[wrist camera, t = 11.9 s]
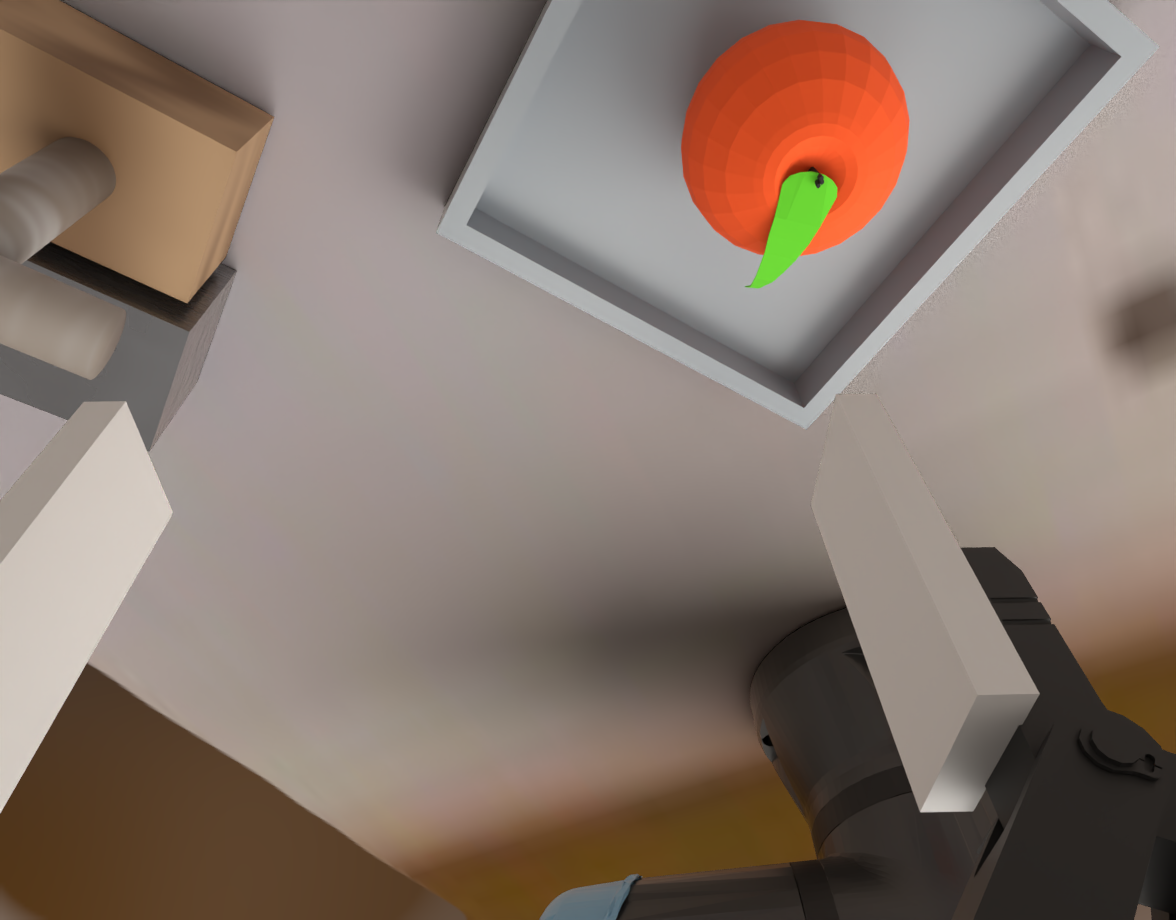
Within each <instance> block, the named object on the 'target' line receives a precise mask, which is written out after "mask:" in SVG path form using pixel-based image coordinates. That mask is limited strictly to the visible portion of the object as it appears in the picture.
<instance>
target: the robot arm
mask: <svg viewBox="0 0 1176 920" xmlns="http://www.w3.org/2000/svg"><path fill="white" fill-rule="evenodd" d="M811 508H812V511H813V513H814V516H815V519H816V522H817V525H818V527H819V530H820V533H821V536H822V539H823V541H824V544H825V547H826V550H827V553H828V555H829V558H830V561H831V564H832V567H833V570H834V572H835V575H836V578H837V581H838V584H839V586H840V589H841V592H842V595H843V598H844V600H845V603H846V606H847V608H845V609H842V610H839V611H836V612H834V613H831V614H828V615H826V616H823V617H821V618H819V619H817V620H815V621H813V622H811V623H809V624H807V625H805V626H803V627H802V628H800V629H798V630H797V631H795V632H794V633H792V634H791V635H789V636H788V637H787V638H785V639H784V640H783V641H781V642H780V643H779V644H778V645H777V646H776V647H775V648H774V649H773V650H772V651H771V652H770V653H769V654H768V655H767V656H766V657H765V659H764V660H763V661H762V663H761V664H760V666H759V667H758V669H757V671H756V673H755V675H754V677H753V680H752V683H751V687H750V706H751V710H752V715H753V720H754V725H755V729H756V734H757V737H758V740H759V742H760V745H761V747H762V749H763V751H764V752H765V754H766V755H767V757H768V758H769V760H770V761H771V762H772V764H773V766H774V768H775V770H776V772H777V773H778V775H779V777H780V779H781V780H782V782H783V784H784V785H785V787H786V789H787V790H788V792H789V794H790V795H791V797H792V799H793V800H794V802H795V803H796V805H797V807H798V808H799V810H800V812H801V813H802V815H803V817H804V818H805V820H806V822H807V823H808V825H809V828H810V831H811V835H812V839H813V843H814V847H815V851H816V855H817V859H818V860H809V861H800V862H789V863H781V864H772V865H762V866H753V867H743V868H734V869H724V870H715V871H705V872H696V873H686V874H676V875H667V876H657V877H648V878H642V876H639V875H638V874H635V875H630V876H628V877H627V878H626V879H625V880H622V881H616V882H610V883H604V884H598V885H592V886H586V887H580V888H574V889H571V890H568V891H566V892H564V893H562V894H561V895H559V896H558V897H556V898H555V899H554V900H553V901H552V902H551V903H550V904H549V906H548V907H547V908H546V910H545V911H544V913H543V914H542V916H541V918H540V920H1134V917H1135V913H1136V909H1137V905H1138V904H1141V905H1144V906H1148V907H1151V915H1152V920H1176V754H1173V753H1170V752H1167V751H1165V750H1162V748H1161V746H1160V745H1159V744H1158V743H1157V742H1156V741H1155V740H1154V739H1153V738H1152V737H1151V736H1150V735H1149V734H1148V733H1147V732H1146V731H1145V730H1144V729H1143V728H1142V727H1140V726H1138V725H1137V724H1135V723H1134V722H1132V721H1131V720H1129V719H1128V718H1126V717H1124V716H1123V715H1120V714H1117V713H1114V712H1112V711H1109V710H1107V709H1106V707H1105V706H1104V705H1103V703H1102V702H1101V700H1100V699H1099V697H1098V695H1097V694H1096V692H1095V690H1094V689H1093V687H1092V686H1091V684H1090V682H1089V681H1088V679H1087V677H1086V676H1085V674H1084V672H1083V671H1082V669H1081V667H1080V666H1079V664H1078V663H1077V661H1076V659H1075V658H1074V656H1073V654H1072V653H1071V651H1070V649H1069V648H1068V646H1067V644H1066V643H1065V641H1064V640H1063V638H1062V636H1061V635H1060V633H1059V631H1058V630H1057V628H1056V626H1055V625H1054V624H1051V621H1050V620H1051V618H1050V617H1049V615H1048V613H1047V612H1046V610H1045V608H1044V607H1043V605H1042V603H1041V602H1038V601H1037V598H1038V597H1037V595H1036V594H1035V592H1034V590H1033V589H1032V587H1031V585H1030V584H1029V582H1028V580H1027V579H1026V577H1025V575H1024V574H1023V572H1022V571H1021V570H1020V569H1019V568H1018V567H1017V566H1016V565H1014V564H1013V563H1012V562H1011V561H1010V560H1009V559H1007V558H1006V557H1005V556H1004V555H1003V554H1002V553H1000V552H999V551H998V550H997V549H996V548H995V547H981V548H960V546H959V544H958V542H957V541H956V539H955V537H954V535H953V533H952V531H951V530H950V528H949V526H948V524H947V522H946V520H945V519H944V517H943V515H942V513H941V511H940V509H939V507H938V506H937V504H936V502H935V500H934V498H933V496H932V495H931V493H930V491H929V489H928V487H927V485H926V484H925V482H924V480H923V478H922V476H921V474H920V473H919V471H918V469H917V467H916V465H915V463H914V461H913V460H912V458H911V456H910V454H909V452H908V450H907V449H906V447H905V445H904V443H903V441H902V439H901V438H900V436H899V434H898V432H897V430H896V428H895V427H894V425H893V423H892V421H891V419H890V417H889V415H888V414H887V412H886V410H885V408H884V406H883V404H882V403H881V401H880V399H879V397H878V395H877V394H836V395H835V400H834V404H833V409H832V413H831V417H830V422H829V426H828V431H827V435H826V440H825V444H824V448H823V453H822V457H821V462H820V466H819V470H818V475H817V479H816V484H815V488H814V493H813V497H812V501H811ZM172 514H173V511H172V509H171V507H170V504H169V502H168V500H167V497H166V495H165V493H164V490H163V488H162V485H161V483H160V481H159V478H158V476H157V474H156V471H155V469H154V467H153V464H152V462H151V459H150V457H149V455H148V452H147V450H146V448H145V445H144V443H143V441H142V438H141V436H140V433H139V431H138V429H137V426H136V424H135V422H134V419H133V417H132V415H131V412H130V410H129V408H128V405H127V403H126V401H101V402H83V403H82V404H81V406H80V407H79V408H78V409H77V410H76V412H75V413H74V414H73V415H72V416H71V418H70V419H69V420H68V421H67V422H66V423H65V425H64V426H63V427H62V428H61V429H60V431H59V432H58V433H57V434H56V435H55V436H54V438H53V439H52V440H51V441H50V442H49V444H48V445H47V446H46V447H45V448H44V450H43V451H42V452H41V453H40V454H39V455H38V457H37V458H36V459H35V460H34V461H33V463H32V464H31V465H30V466H29V467H28V468H27V470H26V471H25V472H24V473H23V474H22V476H21V477H20V478H19V479H18V480H17V482H16V483H15V484H14V485H13V486H12V487H11V489H10V490H9V491H8V492H7V493H6V495H5V496H4V497H3V498H2V499H1V500H0V813H1V811H2V809H3V807H4V805H5V804H6V802H7V801H8V799H9V797H10V795H11V794H12V792H13V790H14V788H15V787H16V785H17V783H18V782H19V780H20V778H21V776H22V775H23V773H24V771H25V769H26V768H27V766H28V764H29V762H30V761H31V759H32V757H33V756H34V754H35V752H36V750H37V749H38V747H39V745H40V743H41V742H42V740H43V738H44V736H45V734H46V733H47V731H48V729H49V728H50V726H51V724H52V723H53V721H54V719H55V717H56V715H57V714H58V712H59V710H60V709H61V707H62V705H63V703H64V702H65V700H66V698H67V696H68V695H69V693H70V691H71V690H72V688H73V686H74V684H75V682H76V681H77V679H78V677H79V676H80V674H81V672H82V670H83V669H84V667H85V665H86V664H87V662H88V660H89V658H90V657H91V655H92V653H93V651H94V650H95V648H96V646H97V644H98V643H99V641H100V639H101V638H102V636H103V634H104V632H105V631H106V629H107V627H108V625H109V624H110V622H111V620H112V618H113V617H114V615H115V613H116V612H117V610H118V608H119V606H120V605H121V603H122V601H123V599H124V598H125V596H126V594H127V592H128V591H129V589H130V587H131V586H132V584H133V582H134V580H135V579H136V577H137V575H138V573H139V572H140V570H141V568H142V566H143V565H144V563H145V561H146V559H147V558H148V556H149V554H150V553H151V551H152V549H153V547H154V546H155V544H156V542H157V540H158V539H159V537H160V535H161V533H162V532H163V530H164V528H165V527H166V525H167V523H168V521H169V520H170V518H171V516H172Z"/></svg>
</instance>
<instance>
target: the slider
mask: <svg viewBox="0 0 1176 920" xmlns="http://www.w3.org/2000/svg"><path fill="white" fill-rule="evenodd" d="M273 119H274V117H273V116H271V115H269V114H268V113H266V112H264V111H262V110H260V109H258V108H257V107H255V106H253V105H251V104H249V103H247V102H246V101H244V100H242V99H240V98H238V97H236V96H235V95H233V94H231V93H229V92H227V91H225V90H223V89H222V88H220V87H218V86H216V85H214V84H212V83H211V82H209V81H207V80H205V79H203V78H201V77H200V76H198V75H196V74H194V73H192V72H190V71H188V70H187V69H185V68H183V67H181V66H179V65H177V64H176V63H174V62H172V61H170V60H168V59H166V58H165V57H163V56H161V55H159V54H157V53H155V52H154V51H152V50H150V49H148V48H146V47H144V46H142V45H141V44H139V43H137V42H135V41H133V40H131V39H130V38H128V37H126V36H124V35H122V34H120V33H119V32H117V31H115V30H113V29H111V28H109V27H108V26H106V25H104V24H102V23H100V22H98V21H96V20H95V19H93V18H91V17H89V16H87V15H85V14H84V13H82V12H80V11H78V10H76V9H74V8H73V7H71V6H69V5H67V4H65V3H63V2H62V1H60V0H0V344H3V345H5V346H8V347H10V348H13V349H15V350H18V351H20V352H22V353H25V354H27V355H30V356H32V357H35V358H37V359H40V360H42V361H45V362H47V363H50V364H52V365H54V366H57V367H59V368H62V369H64V370H67V371H69V372H72V373H74V374H77V375H79V376H82V377H84V378H86V379H89V380H92V379H94V378H95V377H96V376H98V374H99V373H100V372H101V371H102V370H103V368H104V367H105V365H106V364H107V362H108V361H109V359H110V358H111V356H112V354H113V352H114V350H115V348H116V346H117V344H118V342H119V339H120V337H121V334H122V332H123V329H124V325H125V321H126V311H125V310H124V309H122V308H120V307H118V306H115V305H113V304H111V303H108V302H106V301H104V300H102V299H99V298H97V297H95V296H92V295H90V294H88V293H86V292H83V291H81V290H79V289H76V288H74V287H72V286H70V285H67V284H65V283H63V282H61V281H58V280H56V279H54V278H51V277H49V276H47V275H45V274H42V273H40V272H38V271H35V270H33V269H31V268H29V267H26V266H24V265H22V263H23V262H25V261H26V260H27V259H29V258H30V257H31V256H32V255H34V254H35V253H36V252H38V251H39V250H40V249H42V248H43V247H44V246H45V245H47V244H48V243H49V242H52V243H54V244H56V245H59V246H61V247H63V248H65V249H68V250H70V251H72V252H74V253H76V254H79V255H81V256H83V257H85V258H87V259H90V260H92V261H94V262H96V263H99V264H101V265H103V266H105V267H107V268H110V269H112V270H114V271H116V272H118V273H121V274H123V275H125V276H127V277H130V278H132V279H134V280H136V281H138V282H141V283H143V284H145V285H147V286H149V287H152V288H154V289H156V290H158V291H161V292H163V293H165V294H167V295H169V296H172V297H174V298H176V299H178V300H180V301H183V302H185V303H188V302H189V301H190V300H191V298H192V297H193V296H194V295H195V294H196V292H197V291H198V290H199V289H200V287H201V286H202V285H203V284H204V283H205V281H206V280H207V279H208V278H209V277H210V275H211V274H212V273H213V272H214V271H215V269H216V268H217V267H218V266H219V265H220V263H221V262H222V261H223V260H224V258H225V257H226V255H227V252H228V249H229V246H230V243H231V241H232V238H233V235H234V232H235V229H236V226H237V223H238V220H239V217H240V214H241V212H242V209H243V206H244V203H245V200H246V197H247V194H248V191H249V188H250V185H251V182H252V180H253V177H254V174H255V171H256V168H257V165H258V162H259V159H260V156H261V153H262V151H263V148H264V145H265V142H266V139H267V136H268V133H269V130H270V127H271V124H272V122H273Z"/></svg>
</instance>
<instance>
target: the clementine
mask: <svg viewBox="0 0 1176 920" xmlns="http://www.w3.org/2000/svg"><path fill="white" fill-rule="evenodd" d="M909 121H910V120H909V115H908V109H907V104H906V99H905V94H904V90H903V89H902V87H901V85H900V83H899V81H898V79H897V77H896V75H895V73H894V72H893V70H892V68H891V66H890V64H889V63H888V61H887V60H886V58H885V56H884V55H883V54H881V53H880V52H879V51H878V50H877V49H876V48H875V47H874V46H873V45H872V44H871V43H870V42H869V41H868V40H867V39H866V38H865V37H864V36H861V35H859V34H857V33H855V32H853V31H851V30H848V29H846V28H844V27H842V26H840V25H838V24H831V23H823V22H814V21H806V20H795V21H789V22H783V23H777V24H772V25H768V26H766V27H764V28H762V29H760V30H758V31H756V32H754V33H751V34H749V35H747V36H745V37H743V38H741V39H740V40H739V41H738V42H736V43H735V44H734V45H733V46H731V47H730V48H729V49H728V50H727V51H725V52H724V53H723V54H722V55H721V56H719V57H718V58H717V59H716V61H715V62H714V63H713V65H712V66H711V67H710V69H709V70H708V71H707V73H706V74H705V75H704V77H703V78H702V79H701V81H700V82H699V83H698V86H697V88H696V90H695V93H694V95H693V97H692V99H691V102H690V104H689V106H688V109H687V111H686V117H685V123H684V129H683V135H682V142H681V153H682V165H683V177H684V179H685V182H686V185H687V187H688V190H689V193H690V196H691V198H692V201H693V203H694V204H695V205H696V207H697V208H698V209H699V211H700V212H701V214H702V215H703V216H704V218H705V219H706V220H707V222H708V223H709V224H710V225H711V227H712V228H713V229H714V230H715V231H716V232H717V233H719V234H720V235H721V236H723V237H724V238H725V239H727V240H728V241H729V242H731V243H732V244H733V245H735V246H737V247H740V248H743V249H745V250H748V251H751V252H753V253H756V254H759V255H763V258H762V261H761V263H760V266H759V269H758V271H757V274H756V276H755V278H754V280H753V282H752V283H751V285H749V286H745V287H748V288H757V289H759V288H761V287H763V286H765V285H768V284H770V283H772V282H773V281H775V280H776V279H777V278H778V277H779V276H780V275H781V274H783V273H784V272H785V271H786V270H787V269H788V268H789V267H790V266H791V265H792V264H793V263H794V262H795V261H796V260H797V258H798V257H799V256H803V255H809V254H816V253H818V252H821V251H823V250H826V249H828V248H831V247H833V246H836V245H838V244H840V243H842V242H843V241H845V240H846V239H848V238H849V237H851V236H852V235H854V234H855V233H857V232H858V231H860V230H861V229H862V228H863V227H864V226H865V225H866V224H867V223H868V222H869V221H870V220H871V219H872V218H873V217H874V216H875V215H876V214H877V213H878V212H879V211H880V210H881V209H882V207H883V205H884V204H885V202H886V200H887V199H888V197H889V196H890V194H891V192H892V191H893V189H894V187H895V186H896V183H897V180H898V177H899V174H900V172H901V169H902V166H903V163H904V160H905V156H906V152H907V146H908V134H909Z"/></svg>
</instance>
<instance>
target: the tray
mask: <svg viewBox="0 0 1176 920" xmlns="http://www.w3.org/2000/svg"><path fill="white" fill-rule="evenodd" d="M795 20H806V21H814V22H823V23H831V24H838V25H840V26H842V27H844V28H846V29H848V30H851V31H853V32H855V33H857V34H859V35H861V36H864V37H865V38H866V39H867V40H868V41H869V42H870V43H871V44H872V45H873V46H874V47H875V48H876V49H877V50H878V51H879V52H880V53H881V54H883V55H884V56H885V58H886V60H887V61H888V63H889V64H890V66H891V68H892V70H893V72H894V73H895V75H896V77H897V79H898V81H899V83H900V85H901V87H902V89H903V90H904V94H905V99H906V104H907V109H908V115H909V120H910V121H909V134H908V146H907V152H906V156H905V160H904V163H903V166H902V169H901V172H900V174H899V177H898V180H897V183H896V186H895V187H894V189H893V191H892V192H891V194H890V196H889V197H888V199H887V200H886V202H885V204H884V205H883V207H882V209H881V210H880V211H879V212H878V213H877V214H876V215H875V216H874V217H873V218H872V219H871V220H870V221H869V222H868V223H867V224H866V225H865V226H864V227H863V228H862V229H861V230H860V231H858V232H857V233H855V234H854V235H852V236H851V237H849V238H848V239H846V240H845V241H843V242H842V243H840V244H838V245H836V246H833V247H831V248H828V249H826V250H823V251H821V252H818V253H816V254H809V255H803V256H799V257H798V258H797V260H796V261H795V262H794V263H793V264H792V265H791V266H790V267H789V268H788V269H787V270H786V271H785V272H784V273H783V274H781V275H780V276H779V277H778V278H777V279H776V280H775V281H773V282H772V283H770V284H768V285H765V286H763V287H761V288H759V289H757V288H748V287H745V286H749V285H751V283H752V282H753V280H754V278H755V276H756V274H757V271H758V269H759V266H760V263H761V261H762V258H763V255H759V254H756V253H753V252H751V251H748V250H745V249H743V248H740V247H737V246H735V245H733V244H732V243H731V242H729V241H728V240H727V239H725V238H724V237H723V236H721V235H720V234H719V233H717V232H716V231H715V230H714V229H713V228H712V227H711V225H710V224H709V223H708V222H707V220H706V219H705V218H704V216H703V215H702V214H701V212H700V211H699V209H698V208H697V207H696V205H695V204H694V203H693V201H692V198H691V196H690V193H689V190H688V187H687V185H686V182H685V179H684V177H683V165H682V153H681V142H682V135H683V129H684V123H685V117H686V111H687V109H688V106H689V104H690V102H691V99H692V97H693V95H694V93H695V90H696V88H697V86H698V83H699V82H700V81H701V79H702V78H703V77H704V75H705V74H706V73H707V71H708V70H709V69H710V67H711V66H712V65H713V63H714V62H715V61H716V59H717V58H718V57H719V56H721V55H722V54H723V53H724V52H725V51H727V50H728V49H729V48H730V47H731V46H733V45H734V44H735V43H736V42H738V41H739V40H740V39H741V38H743V37H745V36H747V35H749V34H751V33H754V32H756V31H758V30H760V29H762V28H764V27H766V26H768V25H772V24H777V23H783V22H789V21H795ZM1158 48H1159V46H1158V45H1157V44H1156V43H1155V42H1154V41H1153V40H1152V39H1150V38H1149V37H1148V36H1147V35H1146V34H1145V33H1144V32H1143V31H1141V30H1140V29H1139V28H1138V27H1137V26H1136V25H1135V24H1134V23H1133V22H1131V21H1130V20H1129V19H1128V18H1127V17H1126V16H1125V15H1124V14H1122V13H1121V12H1120V11H1119V10H1118V9H1117V8H1116V7H1115V6H1114V5H1112V4H1111V3H1110V2H1109V1H1108V0H547V2H546V4H545V6H544V8H543V10H542V12H541V14H540V16H539V18H538V20H537V22H536V24H535V26H534V28H533V30H532V32H531V34H530V36H529V38H528V40H527V42H526V44H525V46H524V48H523V50H522V53H521V55H520V57H519V59H518V61H517V63H516V65H515V67H514V69H513V71H512V73H511V75H510V77H509V79H508V81H507V83H506V85H505V87H504V89H503V91H502V93H501V95H500V97H499V99H498V101H497V103H496V105H495V107H494V109H493V111H492V113H491V115H490V117H489V119H488V121H487V123H486V125H485V127H484V129H483V131H482V133H481V135H480V137H479V139H478V141H477V143H476V145H475V147H474V149H473V151H472V153H471V155H470V157H469V159H468V161H467V163H466V165H465V167H464V169H463V171H462V173H461V175H460V177H459V179H458V181H457V183H456V186H455V188H454V190H453V192H452V194H451V196H450V198H449V200H448V202H447V204H446V206H445V208H444V211H443V214H442V217H441V219H440V222H439V225H438V228H437V231H436V233H437V234H439V235H441V236H443V237H445V238H446V239H448V240H450V241H452V242H454V243H456V244H458V245H460V246H462V247H463V248H465V249H467V250H469V251H471V252H473V253H475V254H477V255H478V256H480V257H482V258H484V259H486V260H488V261H490V262H492V263H494V264H495V265H497V266H499V267H501V268H503V269H505V270H507V271H509V272H510V273H512V274H514V275H516V276H518V277H520V278H522V279H524V280H526V281H527V282H529V283H531V284H533V285H535V286H537V287H539V288H541V289H542V290H544V291H546V292H548V293H550V294H552V295H554V296H556V297H558V298H559V299H561V300H563V301H565V302H567V303H569V304H571V305H573V306H574V307H576V308H578V309H580V310H582V311H584V312H586V313H588V314H590V315H591V316H593V317H595V318H597V319H599V320H601V321H603V322H605V323H606V324H608V325H610V326H612V327H614V328H616V329H618V330H620V331H622V332H623V333H625V334H627V335H629V336H631V337H633V338H635V339H637V340H638V341H640V342H642V343H644V344H646V345H648V346H650V347H652V348H654V349H655V350H657V351H659V352H661V353H663V354H665V355H667V356H669V357H670V358H672V359H674V360H676V361H678V362H680V363H682V364H684V365H686V366H687V367H689V368H691V369H693V370H695V371H697V372H699V373H701V374H702V375H704V376H706V377H708V378H710V379H712V380H714V381H716V382H718V383H719V384H721V385H723V386H725V387H727V388H729V389H731V390H733V391H734V392H736V393H738V394H740V395H742V396H744V397H746V398H748V399H750V400H751V401H753V402H755V403H757V404H759V405H761V406H763V407H765V408H766V409H768V410H770V411H772V412H774V413H776V414H778V415H780V416H782V417H783V418H785V419H787V420H789V421H791V422H793V423H795V424H797V425H798V426H800V427H802V428H804V429H806V430H807V428H808V427H809V426H810V425H811V424H812V423H813V422H814V421H815V420H816V419H817V418H818V417H819V415H820V414H821V413H822V412H823V411H824V410H825V409H826V408H827V407H828V406H829V405H830V404H831V402H832V401H833V400H834V399H835V395H836V394H840V393H841V392H842V391H843V389H844V388H845V387H846V386H847V385H848V384H849V383H850V382H851V381H852V380H853V379H854V378H855V376H856V375H857V374H858V373H859V372H860V371H861V370H862V369H863V368H864V367H865V366H866V365H867V363H868V362H869V361H870V360H871V359H872V358H873V357H874V356H875V355H876V354H877V353H878V352H879V350H880V349H881V348H882V347H883V346H884V345H885V344H886V343H887V342H888V341H889V340H890V339H891V337H892V336H893V335H894V334H895V333H896V332H897V331H898V330H899V329H900V328H901V327H902V326H903V324H904V323H905V322H906V321H907V320H908V319H909V318H910V317H911V316H912V315H913V314H914V313H915V311H916V310H917V309H918V308H919V307H920V306H921V305H922V304H923V303H924V302H925V301H926V300H927V298H928V297H929V296H930V295H931V294H932V293H933V292H934V291H935V290H936V289H937V288H938V287H939V285H940V284H941V283H942V282H943V281H944V280H945V279H946V278H947V277H948V276H949V275H950V274H951V272H952V271H953V270H954V269H955V268H956V267H957V266H958V265H959V264H960V263H961V262H962V261H963V259H964V258H965V257H966V256H967V255H968V254H969V253H970V252H971V251H972V250H973V249H974V248H975V246H976V245H977V244H978V243H979V242H980V241H981V240H982V239H983V238H984V237H985V236H986V235H987V233H988V232H989V231H990V230H991V229H992V228H993V227H994V226H995V225H996V224H997V223H998V222H999V220H1000V219H1001V218H1002V217H1003V216H1004V215H1005V214H1006V213H1007V212H1008V211H1009V210H1010V209H1011V207H1012V206H1013V205H1014V204H1015V203H1016V202H1017V201H1018V200H1019V199H1020V198H1021V197H1022V196H1023V194H1024V193H1025V192H1026V191H1027V190H1028V189H1029V188H1030V187H1031V186H1032V185H1033V184H1034V183H1035V181H1036V180H1037V179H1038V178H1039V177H1040V176H1041V175H1042V174H1043V173H1044V172H1045V171H1046V169H1047V168H1048V167H1049V166H1050V165H1051V164H1052V163H1053V162H1054V161H1055V160H1056V159H1057V158H1058V156H1059V155H1060V154H1061V153H1062V152H1063V151H1064V150H1065V149H1066V148H1067V147H1068V146H1069V145H1070V143H1071V142H1072V141H1073V140H1074V139H1075V138H1076V137H1077V136H1078V135H1079V134H1080V133H1081V132H1082V130H1083V129H1084V128H1085V127H1086V126H1087V125H1088V124H1089V123H1090V122H1091V121H1092V120H1093V119H1094V117H1095V116H1096V115H1097V114H1098V113H1099V112H1100V111H1101V110H1102V109H1103V108H1104V107H1105V106H1106V104H1107V103H1108V102H1109V101H1110V100H1111V99H1112V98H1113V97H1114V96H1115V95H1116V94H1117V93H1118V91H1119V90H1120V89H1121V88H1122V87H1123V86H1124V85H1125V84H1126V83H1127V82H1128V81H1129V80H1130V78H1131V77H1132V76H1133V75H1134V74H1135V73H1136V72H1137V71H1138V70H1139V69H1140V68H1141V67H1142V65H1143V64H1144V63H1145V62H1146V61H1147V60H1148V59H1149V58H1150V57H1151V56H1152V55H1153V54H1154V52H1155V51H1156V50H1157V49H1158Z"/></svg>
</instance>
